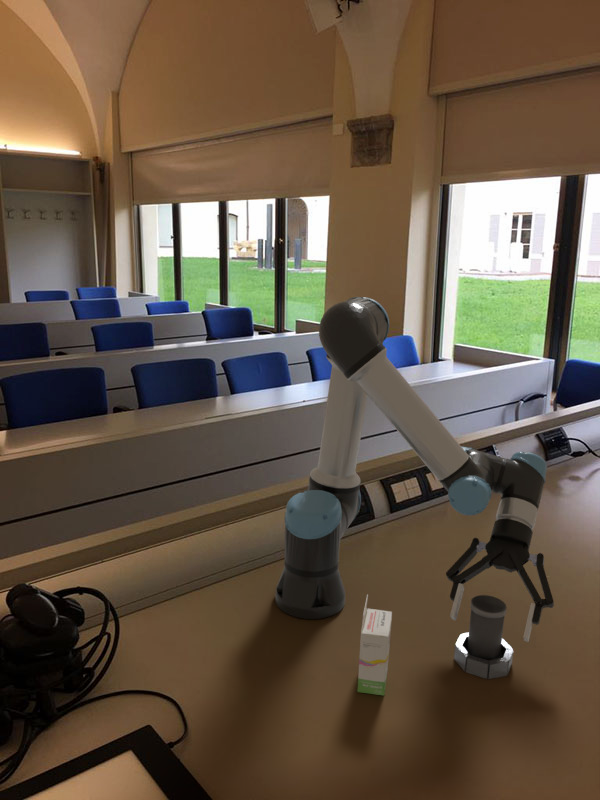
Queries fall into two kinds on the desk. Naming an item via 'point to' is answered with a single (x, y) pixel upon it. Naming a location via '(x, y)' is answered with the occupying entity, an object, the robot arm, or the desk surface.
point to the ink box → (374, 651)
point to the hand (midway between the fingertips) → (488, 628)
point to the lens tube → (486, 627)
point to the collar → (483, 660)
